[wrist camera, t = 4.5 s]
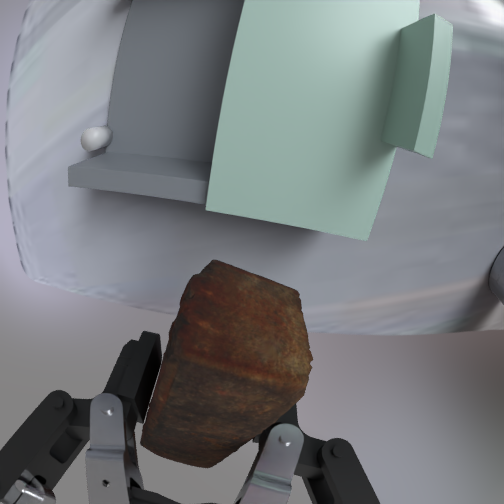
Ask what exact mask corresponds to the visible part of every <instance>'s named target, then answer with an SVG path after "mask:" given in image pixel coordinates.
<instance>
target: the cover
mask: <svg viewBox="0 0 504 504" xmlns="http://www.w3.org/2000/svg"><path fill="white" fill-rule="evenodd" d="M419 1H420V0H245V2H244V6H243V9H242V13H241V17H240V22H239V26H238V30H237V34H236V38H235V43H234V47H233V52H232V56H231V61H230V66H229V71H228V75H227V80H226V85H225V91H224V96H223V101H222V107H221V112H220V118H219V123H218V129H217V135H216V141H215V147H214V154H213V160H212V167H211V174H210V181H209V188H208V195H207V203H206V210H207V211H213V212H219V213H225V214H231V215H237V216H242V217H248V218H253V219H259V220H264V221H270V222H275V223H280V224H286V225H291V226H296V227H301V228H306V229H311V230H316V231H321V232H326V233H331V234H336V235H340V236H345V237H350V238H354V239H359V240H364V241H367V239H368V237H369V234H370V231H371V228H372V226H373V223H374V220H375V217H376V214H377V211H378V208H379V205H380V202H381V199H382V196H383V193H384V190H385V187H386V183H387V180H388V177H389V173H390V170H391V166H392V163H393V159H394V155H395V152H396V148H397V147H399V148H402V149H405V150H408V151H411V152H414V153H417V154H420V155H423V156H426V157H428V158H431V159H432V158H433V154H434V150H435V146H436V142H437V138H438V134H439V130H440V125H441V120H442V115H443V110H444V105H445V99H446V93H447V86H448V79H449V71H450V62H451V51H452V34H453V25H452V24H450V23H449V22H447V21H446V20H444V19H443V18H441V17H440V16H438V15H436V14H433V15H430V16H428V17H425V18H423V19H421V20H419V21H418V19H419Z"/></svg>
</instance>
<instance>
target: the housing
mask: <svg viewBox="0 0 504 504" xmlns="http://www.w3.org/2000/svg"><path fill="white" fill-rule="evenodd" d="M244 2H245V0H132V3H131V6H130V9H129V13H128V16H127V20H126V23H125V27H124V31H123V35H122V39H121V43H120V47H119V52H118V56H117V61H116V67H115V72H114V78H113V84H112V90H111V97H110V105H109V113H108V123H107V126H100V127H94V128H89V129H86V130H85V131H84V132H83V134H82V136H81V145H82V147H83V148H84V149H85V150H86V151H93V150H96V149H99V148H102V147H106V149H105V152H107V153H104V154H101V155H98V156H95V157H92V158H90V159H87V160H84V161H82V162H79V163H77V164H74V165H72V166H69V167H68V185H69V186H71V187H80V188H89V189H98V190H107V191H115V192H123V193H130V194H138V195H145V196H153V197H160V198H167V199H173V200H180V201H187V202H193V203H199V204H205V205H206V203H207V195H208V188H209V181H210V174H211V167H212V160H213V154H214V147H215V141H216V135H217V129H218V123H219V118H220V112H221V107H222V101H223V96H224V91H225V85H226V80H227V75H228V71H229V66H230V61H231V56H232V52H233V47H234V43H235V38H236V34H237V30H238V26H239V22H240V17H241V13H242V9H243V6H244Z"/></svg>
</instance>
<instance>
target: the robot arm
mask: <svg viewBox="0 0 504 504" xmlns="http://www.w3.org/2000/svg"><path fill="white" fill-rule="evenodd" d="M489 287H490V289H491V291H492V292H493V293H494V294H495V295H496V297H497V298H498V299H499V300H500V301H501V302H502V303H503V305H504V248H503V249H502V251H501V252H500V254H499V255H498V257H497V258H496V260H495V262H494V265H493V267H492V270H491V273H490V277H489ZM161 360H162V352H161V341H160V335H159V334H156V333H152V332H147V331H143V332H142V335H141V337H140V339H139V341H136V340H130V341H129V342H128V343H127V344H126V345H125V346H124V347H123V349H122V351H121V353H120V356H119V357H118V360H117V362H116V364H115V366H114V369H113V371H112V373H111V375H110V378H109V380H108V382H107V385H106V387H105V389H104V391H103V392H102V393H101V394H99V395H97V396H96V397H94V398H93V399H74V398H71V396H70V395H69V394H68V393H67V392H65V391H62V390H56V391H53V392H51V393H50V394H49V395H48V396H47V397H46V398H45V399H44V400H43V401H42V402H41V403H40V405H39V406H38V407H37V408H36V409H35V410H34V411H33V413H32V414H31V415H30V416H29V417H28V418H27V419H26V421H25V422H24V423H23V424H22V425H21V426H20V428H19V429H18V430H17V431H16V432H15V434H14V435H13V436H12V437H11V438H10V439H9V441H8V442H7V443H6V444H5V446H4V447H3V448H2V449H1V451H0V502H2V503H3V504H56V498H55V495H54V493H53V491H52V490H53V488H54V487H55V486H56V484H57V483H58V481H59V480H60V479H61V477H62V476H63V474H64V473H65V472H66V470H67V469H68V468H69V466H70V465H71V464H72V462H73V461H74V459H75V458H76V457H77V455H78V454H79V453H80V451H81V450H82V449H83V447H84V446H85V445H86V443H87V442H88V441H89V440H90V448H89V449H88V450H87V451H86V477H87V488H88V497H89V504H180V503H178V502H175V501H173V500H171V499H168V498H166V497H164V496H162V495H160V494H158V493H154V492H150V491H147V490H144V486H143V480H142V476H141V473H140V470H139V466H138V458H137V450H136V441H135V432H134V429H135V426H136V423H137V422H139V423H142V424H143V423H144V419H145V416H146V412H147V409H148V405H149V402H150V398H151V395H152V392H153V389H154V385H155V382H156V379H157V376H158V372H159V369H160V366H161ZM253 442H255V443H259V451H258V453H257V456H256V458H255V460H254V462H253V464H252V467H251V469H250V471H249V474H248V476H247V478H246V480H245V483H244V485H243V487H242V489H241V490H240V492H239V494H238V496H237V498H236V500H235V502H234V504H287V502H288V499H289V496H290V493H291V489H292V488H291V487H292V486H291V480H292V477H293V474H294V475H298V476H302V479H303V481H304V484H305V486H306V489H307V491H308V494H309V496H310V499H311V501H312V503H313V504H380V502H379V500H378V498H377V496H376V494H375V492H374V490H373V488H372V486H371V484H370V482H369V480H368V478H367V476H366V474H365V472H364V470H363V468H362V466H361V464H360V462H359V460H358V458H357V456H356V454H355V452H354V449H353V447H352V446H351V444H350V443H349V442H348V441H346V440H344V439H341V438H334V439H330V440H328V441H323V440H319V439H316V438H312V437H310V436H308V435H306V434H305V433H303V431H302V430H301V429H300V427H299V425H298V419H297V408H296V404H295V405H293V406H292V407H291V408H290V409H289V410H288V411H287V412H286V413H284V414H283V415H282V416H281V417H279V418H278V420H277V421H276V422H275V423H273V424H272V425H270V426H269V427H268V428H267V429H265V430H263V431H262V433H260V434H257V435H256V436H255V437H254V438H253ZM107 484H109V485H110V486H109V487H107ZM204 504H216V503H204Z"/></svg>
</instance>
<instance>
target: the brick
mask: <svg viewBox="0 0 504 504" xmlns="http://www.w3.org/2000/svg"><path fill="white" fill-rule="evenodd" d="M299 295H300V294H299V293H298V291H297V290H295V289H293V288H290V287H287V286H285V285H282V284H280V283H277V282H275V281H272V280H270V279H267V278H264V277H262V276H259V275H256V274H253V273H250V272H248V271H245V270H242V269H240V268H237V267H235V266H232V265H229V264H226V263H224V262H221V261H218V260H212V261H211V262H210V263H209V264H208V265H207V266H206V267H205V268H204V269H203V270H202V271H201V273H199V274H195V275H193V276H192V277H191V279H190V280H189V282H188V284H187V286H186V288H185V290H184V293H183V295H182V297H181V300H180V308H179V311H178V315H177V317H176V319H175V321H174V322H173V323H172V325H171V328H170V331H169V341H168V344H167V348H166V351H165V353H164V356H163V361H162V364H161V369H160V373H159V376H158V380H157V383H156V386H155V390H154V393H153V397H152V399H151V402H150V403H149V409H148V412H147V417H146V421H145V423H144V425H143V430H142V437H141V441H140V444H141V445H142V446H143V447H145V448H146V449H148V450H150V451H151V452H153V453H154V454H156V455H158V456H161V457H163V458H166V459H169V460H173V461H176V462H180V463H183V464H187V465H191V466H196V467H202V468H210V467H213V466H214V465H216V464H217V463H219V462H221V461H222V460H223V459H225V458H226V457H228V456H229V455H230V454H232V453H233V452H236V451H237V450H238V449H239V448H240V447H241V446H243V445H244V444H246V443H247V442H248V441H250V440H251V439H253V438H254V437H255V436H256V435H257V434H260V433H262V431H263V430H265V429H267V428H268V427H269V426H270V425H272V424H273V423H275V422H276V421H277V420H278V418H279V417H281V416H282V415H283V414H284V413H286V412H287V411H288V410H289V409H290V408H291V407H292V406H293V405H295V404H296V403H297V402H298V401H299V400H300V399H301V398H302V397H303V396H304V393H305V390H306V386H307V383H308V380H309V376H308V375H309V373H310V371H311V369H312V366H311V365H310V362H311V361H312V360H313V357H312V354H311V351H310V350H309V348H310V346H309V342H308V334H307V329H306V325H305V322H304V318H303V312H302V311H301V309H302V307H301V299H300V298H299Z"/></svg>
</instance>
